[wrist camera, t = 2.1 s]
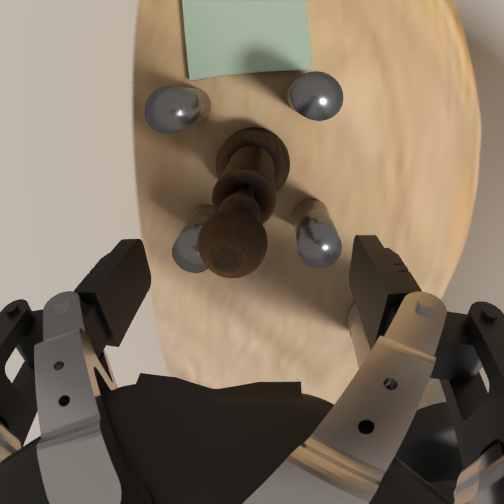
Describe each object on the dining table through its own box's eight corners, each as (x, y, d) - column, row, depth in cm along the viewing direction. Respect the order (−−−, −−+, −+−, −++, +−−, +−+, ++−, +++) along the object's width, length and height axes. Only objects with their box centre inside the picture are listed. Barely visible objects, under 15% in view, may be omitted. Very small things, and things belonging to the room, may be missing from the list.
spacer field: (324, 77, 23) (341, 72, 17) (327, 230, 30) (340, 266, 24) (171, 91, 24) (141, 92, 18) (194, 237, 32) (177, 273, 26)
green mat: (299, -32, 17) (300, -36, 16) (311, 70, 22) (313, 69, 22) (182, -20, 18) (180, -23, 17) (191, 80, 24) (189, 80, 23)
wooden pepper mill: (237, 202, 30) (199, 334, 14) (207, 145, 27) (120, 223, 11) (299, 176, 28) (332, 293, 12) (271, 116, 25) (271, 149, 9)
